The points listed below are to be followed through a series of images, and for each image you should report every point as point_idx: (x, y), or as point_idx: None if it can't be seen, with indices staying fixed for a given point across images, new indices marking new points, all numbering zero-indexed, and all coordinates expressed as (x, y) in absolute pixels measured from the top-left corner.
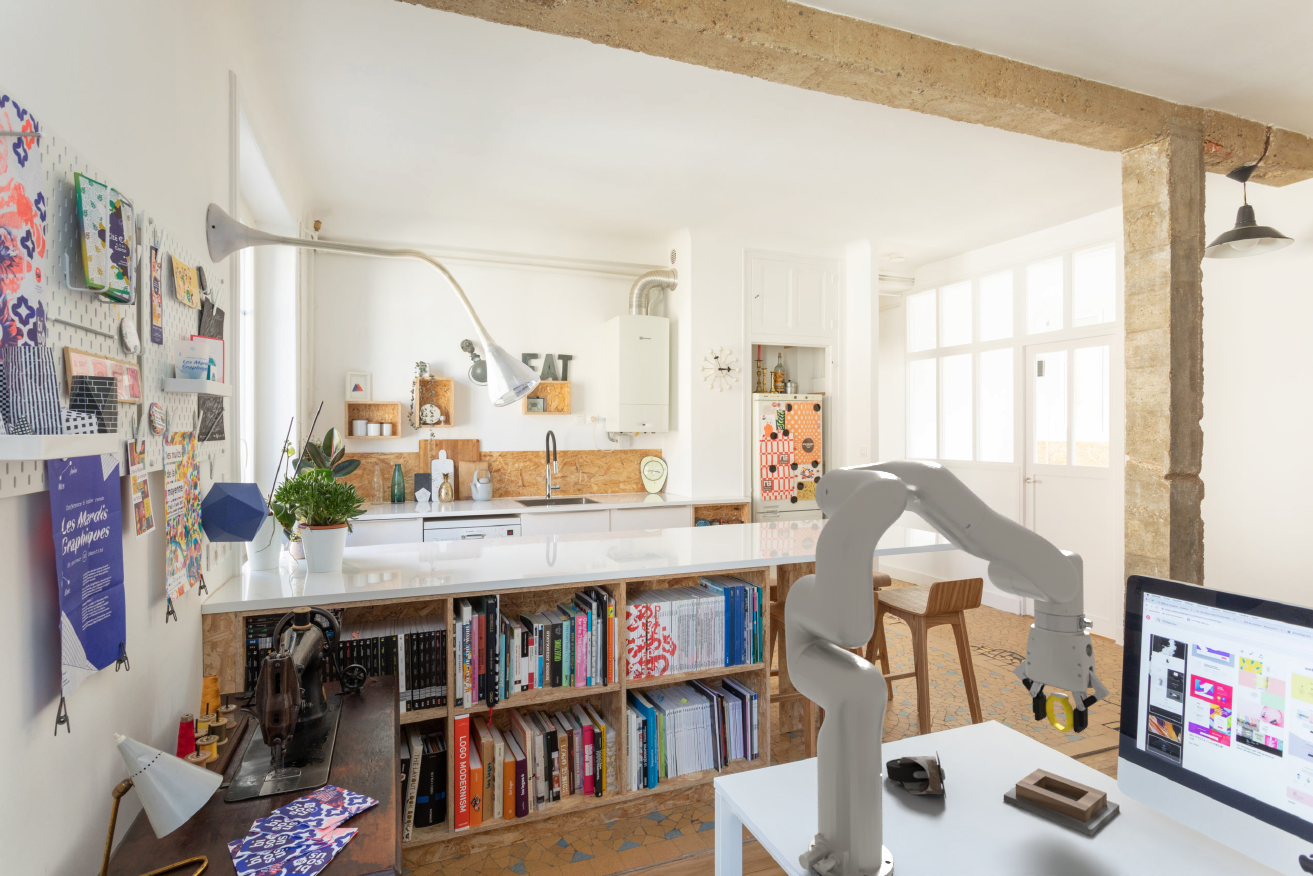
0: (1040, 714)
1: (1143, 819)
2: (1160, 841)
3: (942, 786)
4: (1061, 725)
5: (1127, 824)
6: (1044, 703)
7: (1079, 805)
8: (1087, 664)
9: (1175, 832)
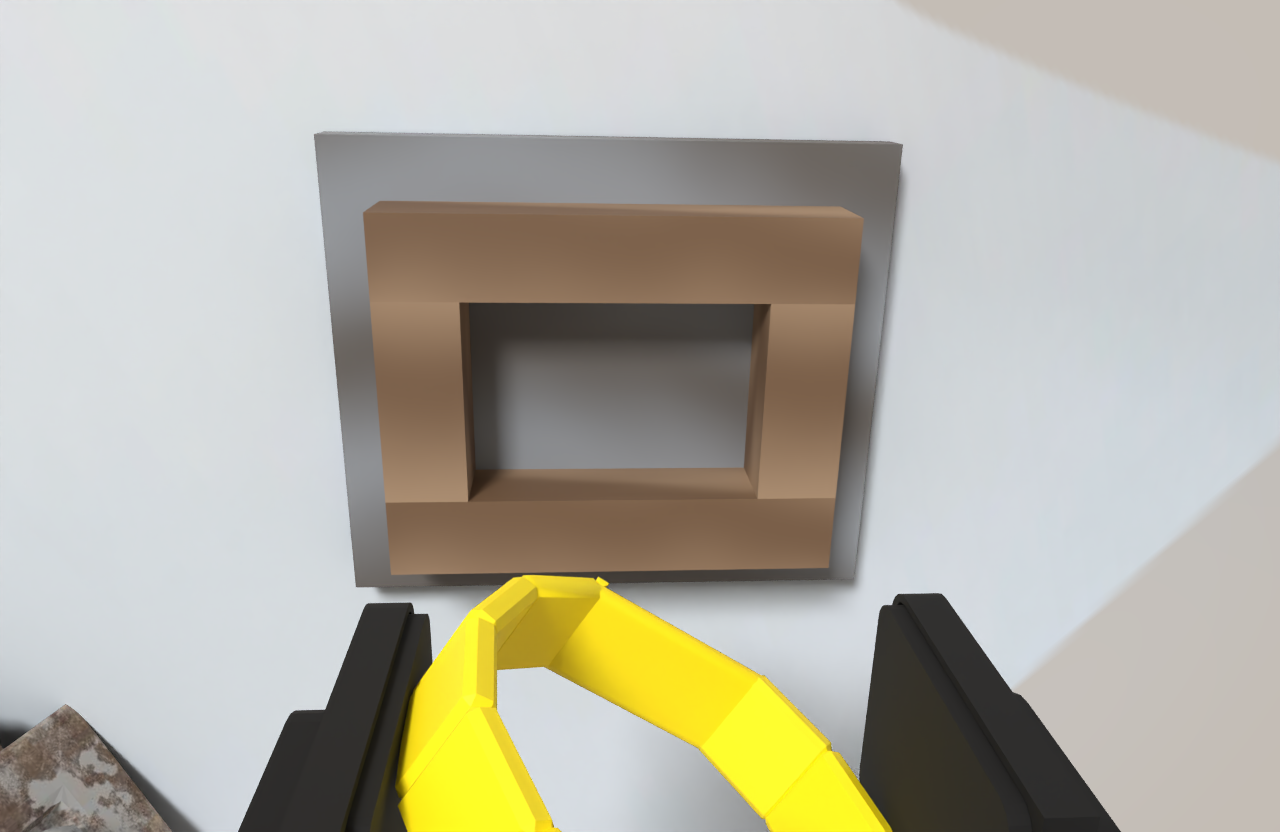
0: None
1: (1023, 136)
2: (1129, 333)
3: (61, 721)
4: (652, 629)
5: (960, 282)
6: (398, 821)
7: (785, 536)
8: None
9: (1190, 154)
